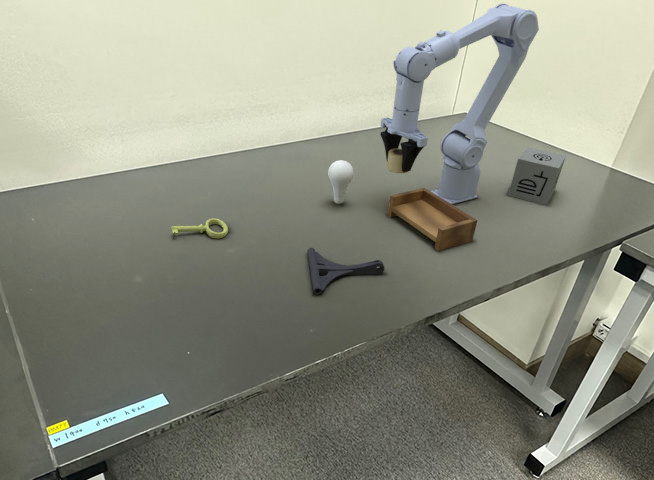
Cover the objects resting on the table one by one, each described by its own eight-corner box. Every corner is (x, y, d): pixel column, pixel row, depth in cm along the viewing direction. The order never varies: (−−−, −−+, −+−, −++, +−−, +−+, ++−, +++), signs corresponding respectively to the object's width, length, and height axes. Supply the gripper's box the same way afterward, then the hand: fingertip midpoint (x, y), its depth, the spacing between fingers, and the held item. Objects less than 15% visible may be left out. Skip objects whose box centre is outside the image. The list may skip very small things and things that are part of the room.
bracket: (390, 293, 102) (392, 281, 100) (313, 295, 100) (313, 282, 99) (376, 254, 113) (378, 242, 112) (307, 254, 112) (307, 243, 110)
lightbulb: (348, 210, 129) (352, 167, 122) (324, 207, 130) (326, 164, 123) (352, 199, 133) (356, 157, 127) (328, 196, 134) (331, 154, 128)
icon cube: (546, 205, 136) (559, 168, 130) (507, 195, 140) (518, 158, 134) (554, 191, 143) (566, 155, 137) (516, 182, 147) (526, 147, 141)
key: (168, 234, 116) (167, 226, 114) (219, 221, 122) (219, 212, 120) (182, 249, 111) (181, 241, 110) (235, 234, 117) (234, 226, 116)
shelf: (420, 206, 132) (424, 187, 129) (472, 240, 120) (477, 220, 117) (387, 215, 128) (390, 195, 125) (437, 251, 115) (442, 230, 112)
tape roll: (400, 162, 129) (402, 146, 126) (414, 171, 125) (416, 154, 123) (382, 166, 126) (384, 149, 124) (395, 175, 123) (398, 158, 120)
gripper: (372, 100, 120) (366, 158, 129) (413, 120, 111) (404, 181, 119) (397, 97, 124) (390, 153, 132) (438, 115, 114) (428, 175, 122)
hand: (398, 166), depth 125 cm, fingers closed on tape roll, 5 cm apart
